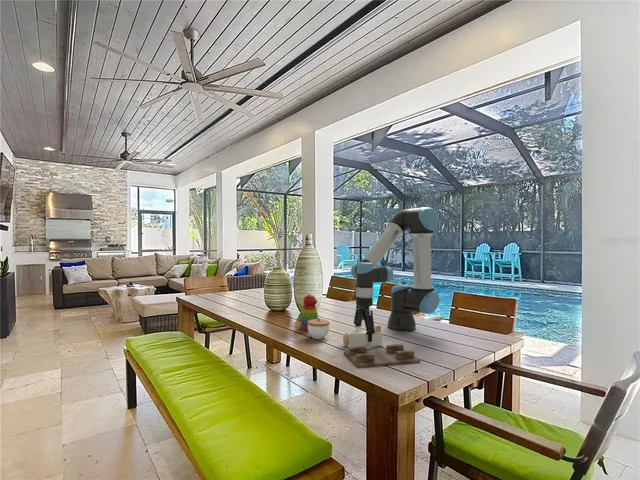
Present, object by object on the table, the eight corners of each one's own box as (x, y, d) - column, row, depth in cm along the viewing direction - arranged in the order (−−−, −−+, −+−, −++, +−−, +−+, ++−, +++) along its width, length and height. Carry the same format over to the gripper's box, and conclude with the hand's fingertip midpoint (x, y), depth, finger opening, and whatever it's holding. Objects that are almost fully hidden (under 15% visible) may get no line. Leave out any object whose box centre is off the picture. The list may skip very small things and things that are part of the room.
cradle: (400, 349, 152) (400, 341, 152) (420, 362, 136) (420, 353, 136) (343, 354, 145) (343, 345, 145) (357, 367, 130) (357, 358, 130)
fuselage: (378, 343, 162) (378, 324, 162) (382, 345, 158) (382, 327, 158) (343, 345, 158) (343, 326, 158) (346, 348, 154) (346, 328, 154)
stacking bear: (316, 331, 180) (317, 296, 180) (297, 330, 182) (298, 295, 182) (320, 326, 191) (321, 293, 191) (302, 325, 193) (303, 292, 193)
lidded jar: (307, 334, 175) (308, 315, 175) (329, 334, 174) (329, 315, 174) (306, 340, 164) (306, 320, 164) (329, 340, 163) (329, 320, 163)
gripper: (347, 292, 169) (346, 337, 169) (367, 301, 145) (366, 353, 145) (362, 292, 171) (361, 336, 171) (383, 301, 147) (382, 352, 147)
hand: (363, 344), depth 158 cm, fingers open, 12 cm apart
